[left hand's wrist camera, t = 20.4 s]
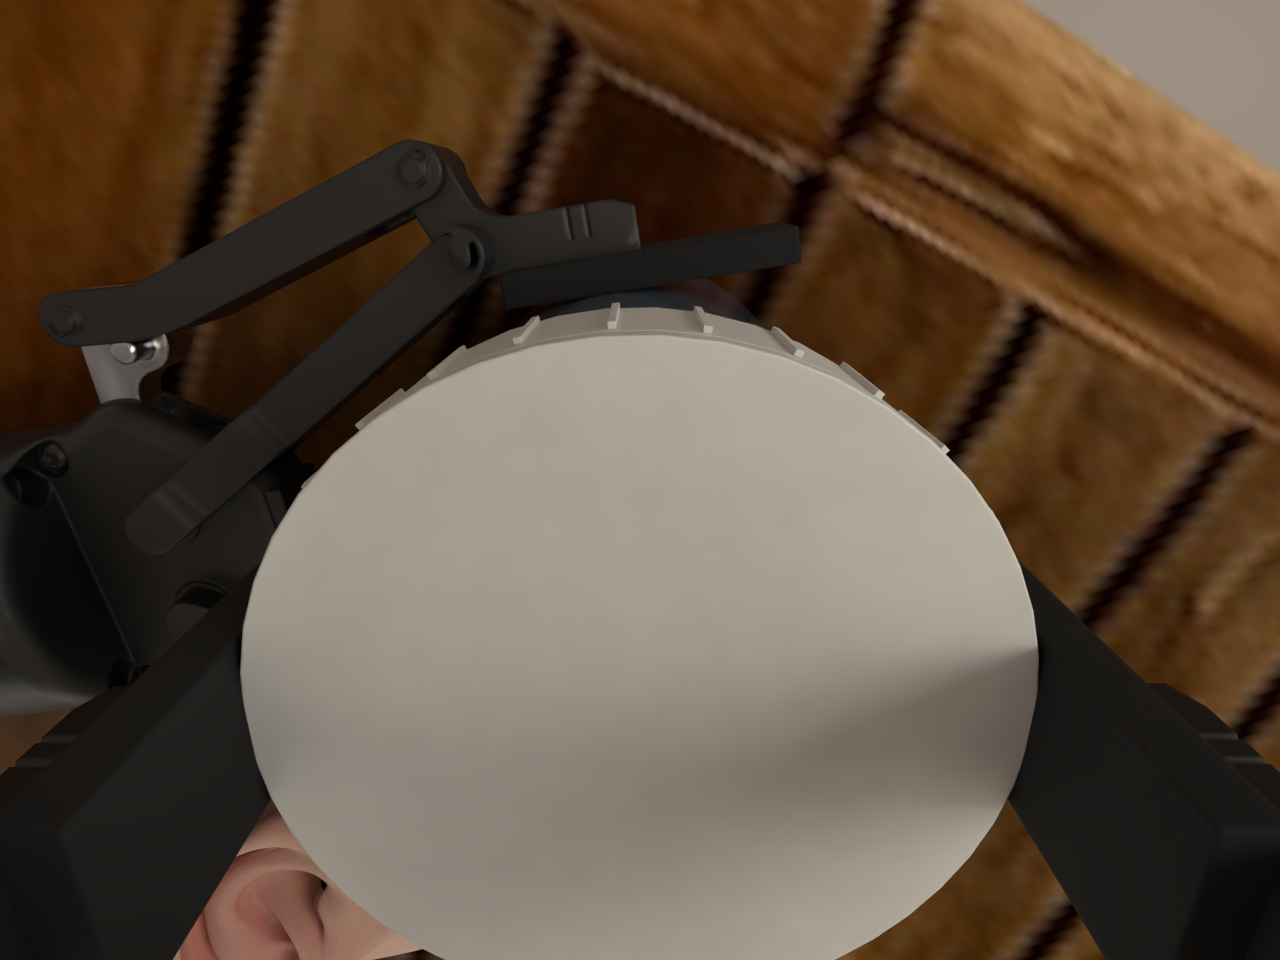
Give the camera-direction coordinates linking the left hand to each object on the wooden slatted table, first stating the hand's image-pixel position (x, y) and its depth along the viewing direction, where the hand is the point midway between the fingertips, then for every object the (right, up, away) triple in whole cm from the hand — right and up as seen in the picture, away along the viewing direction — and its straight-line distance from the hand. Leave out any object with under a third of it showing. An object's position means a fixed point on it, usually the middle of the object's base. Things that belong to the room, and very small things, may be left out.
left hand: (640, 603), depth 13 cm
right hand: (+4, +3, +6) cm, 8 cm away
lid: (0, -1, -3) cm, 3 cm away
